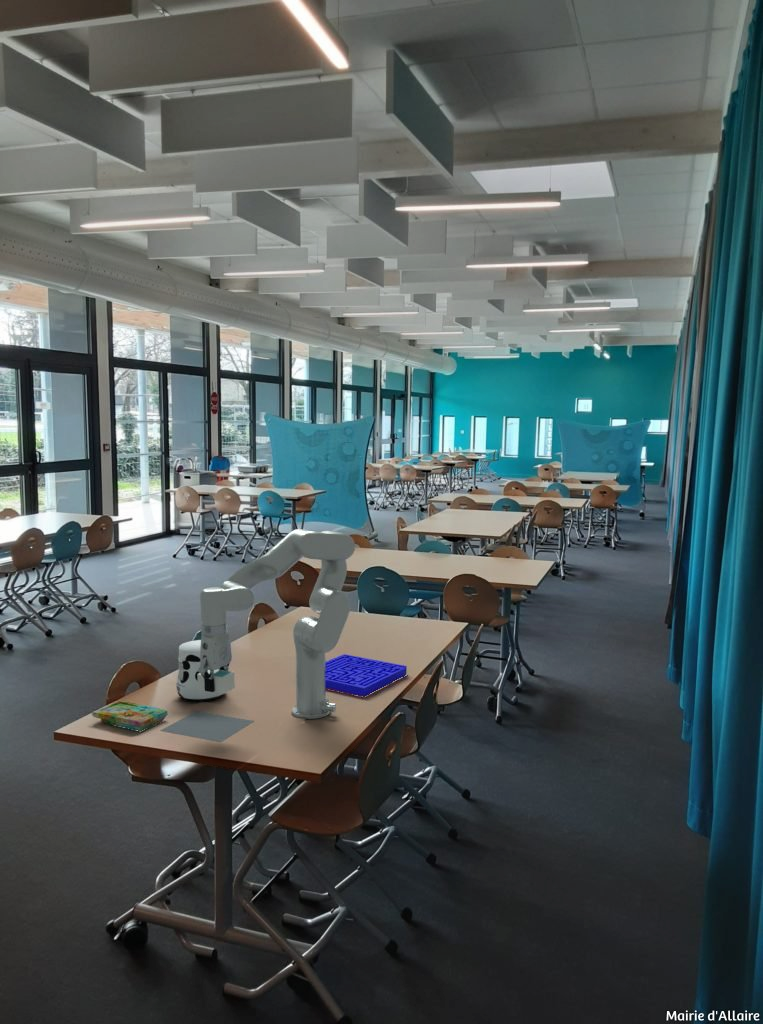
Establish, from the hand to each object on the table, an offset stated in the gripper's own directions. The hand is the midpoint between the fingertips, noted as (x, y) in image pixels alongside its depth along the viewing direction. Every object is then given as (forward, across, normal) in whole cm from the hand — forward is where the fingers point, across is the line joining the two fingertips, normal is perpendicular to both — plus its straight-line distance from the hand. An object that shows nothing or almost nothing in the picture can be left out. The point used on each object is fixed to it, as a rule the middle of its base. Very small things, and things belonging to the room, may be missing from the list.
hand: (216, 687), depth 225 cm
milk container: (+15, +25, +24) cm, 38 cm away
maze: (+16, +63, -16) cm, 67 cm away
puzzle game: (+15, -4, +31) cm, 34 cm away
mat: (+14, +2, +5) cm, 16 cm away
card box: (+1, 0, 0) cm, 1 cm away
